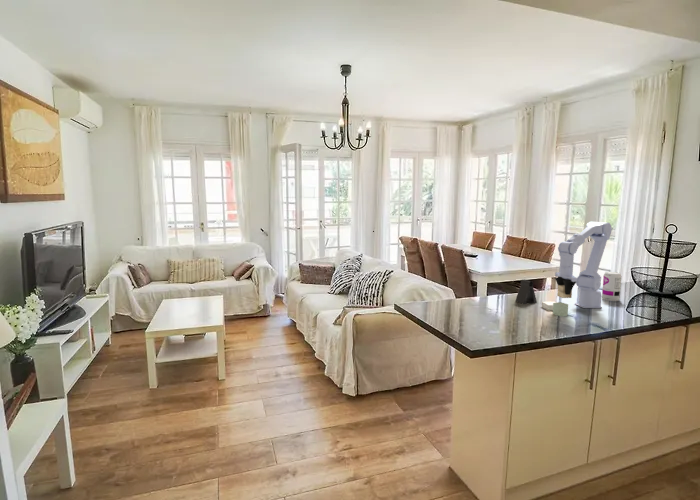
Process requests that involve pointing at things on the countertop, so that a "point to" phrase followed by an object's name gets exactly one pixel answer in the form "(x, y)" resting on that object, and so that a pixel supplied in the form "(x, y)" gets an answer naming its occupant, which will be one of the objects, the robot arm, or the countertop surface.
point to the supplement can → (611, 286)
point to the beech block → (563, 292)
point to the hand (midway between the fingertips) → (564, 293)
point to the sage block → (560, 309)
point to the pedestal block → (548, 305)
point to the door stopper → (526, 292)
